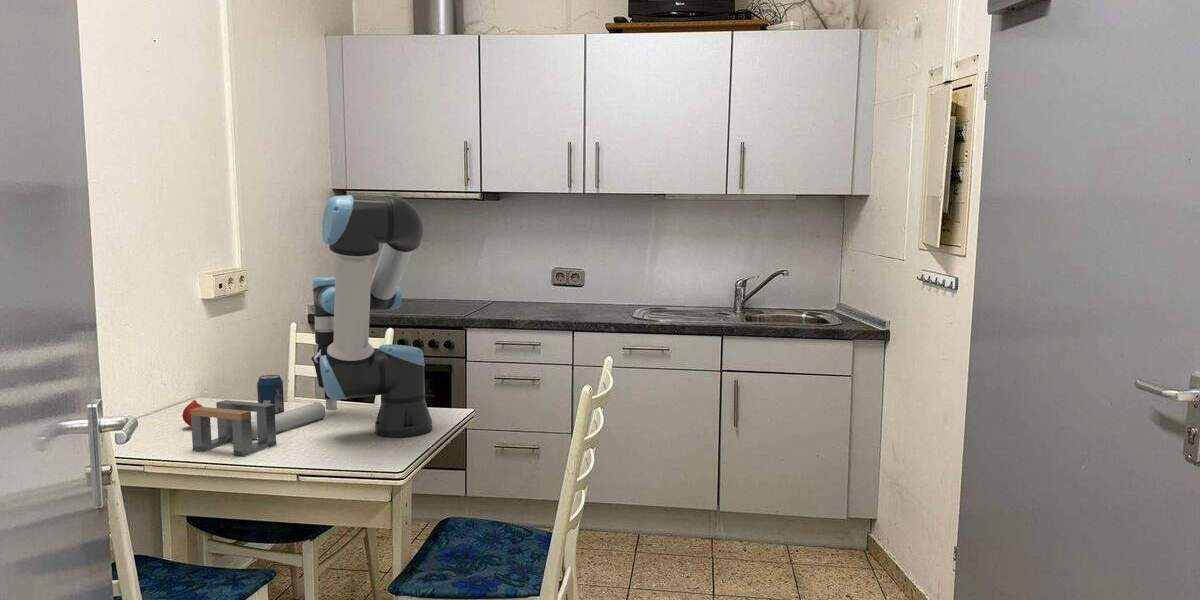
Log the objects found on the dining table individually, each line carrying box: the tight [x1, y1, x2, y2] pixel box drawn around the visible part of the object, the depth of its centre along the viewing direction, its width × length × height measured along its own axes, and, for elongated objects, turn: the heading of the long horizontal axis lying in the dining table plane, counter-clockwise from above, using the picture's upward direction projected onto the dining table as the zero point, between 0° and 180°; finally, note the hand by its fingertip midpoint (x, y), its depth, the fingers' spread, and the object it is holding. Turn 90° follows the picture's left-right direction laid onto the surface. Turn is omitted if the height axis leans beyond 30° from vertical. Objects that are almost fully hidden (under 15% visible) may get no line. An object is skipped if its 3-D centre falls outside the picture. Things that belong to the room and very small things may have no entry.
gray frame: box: [190, 399, 277, 457], centre depth 199 cm, size 16×11×10 cm
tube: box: [251, 401, 326, 440], centre depth 217 cm, size 5×5×25 cm
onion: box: [182, 399, 204, 428], centre depth 219 cm, size 6×6×8 cm
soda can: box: [256, 374, 285, 415], centre depth 231 cm, size 7×7×12 cm
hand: (331, 409), depth 234 cm, fingers closed
